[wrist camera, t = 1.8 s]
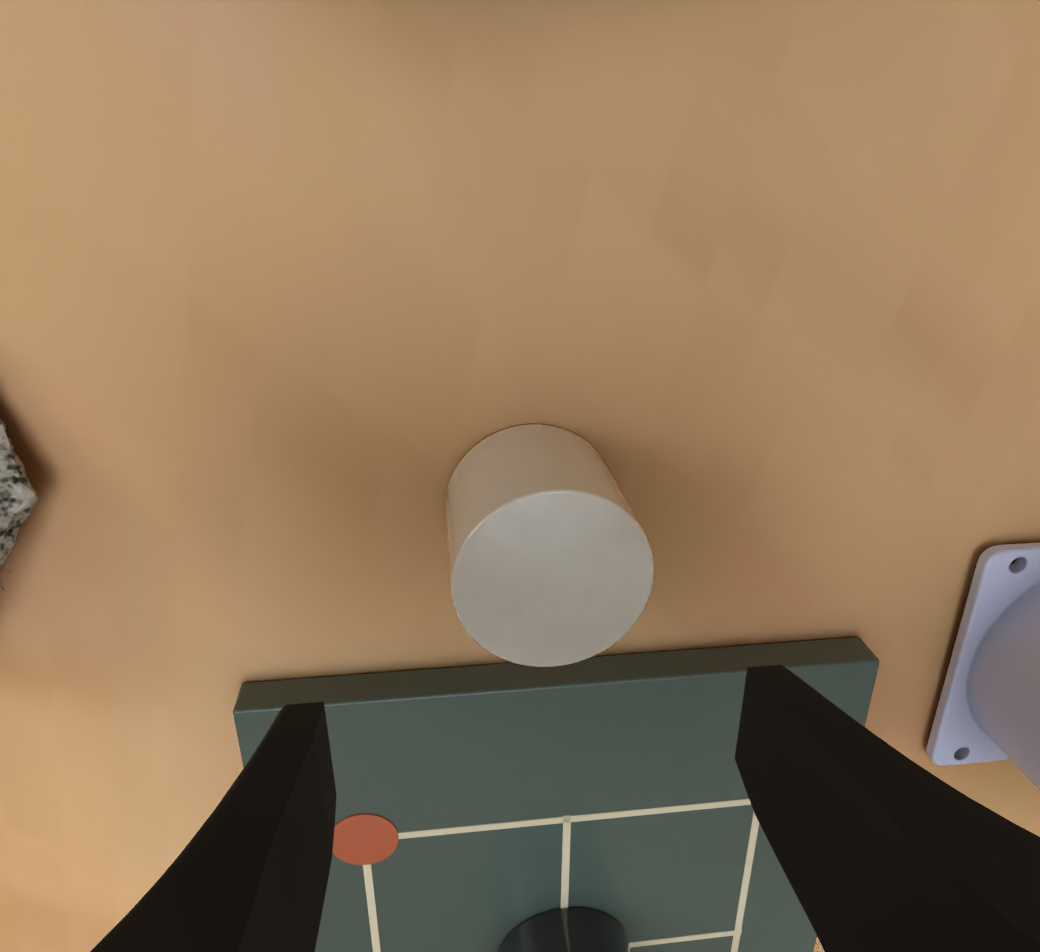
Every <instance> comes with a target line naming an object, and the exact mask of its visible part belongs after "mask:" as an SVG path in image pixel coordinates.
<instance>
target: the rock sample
mask: <svg viewBox="0 0 1040 952" xmlns="http://www.w3.org/2000/svg"><path fill="white" fill-rule="evenodd" d="M6 431H8V429H6V426H5V424H4V422H3V421H2V420H1V418H0V571H1V570H3V567H4V565H5V562H6V559H7V557H8V555H9V554H10V552H11V551H12V550H13V548H14V545H15V541H16V537H17V533H18V530H19V528H20V526H21V524H22V523H23V522H24V521H25V520H26V519H27V517H28V516H29V514H30V513H31V511H32V509H33V508H34V507H35V505H36V503H37V498H38V495H37V493H36V492H35V490H34V489H33V487H32V486H31V483H30V481H29V478H28V476H27V473H26V470H25V467H24V465H23V463H22V462H21V460H20V459H19V457H18V456H17V455H16V453H15V452H14V447H13V445H12V444H11V439H9V438H8V437H7V433H6ZM10 572H11V571H10ZM0 585H2V584H1V583H0ZM2 588H3V590H4V587H2Z"/></svg>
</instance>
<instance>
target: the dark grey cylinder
mask: <svg viewBox="0 0 1040 952" xmlns="http://www.w3.org/2000/svg"><path fill="white" fill-rule="evenodd" d="M499 952H631V949H630V945H629V941H628V937H627V935H626V932H625V930H624V929H623V927H622V926H621V925H620V924H619V923H618V922H617V921H616V920H615V919H613V918H612V917H611V916H609V915H607V914H605V913H602V912H599V911H596V910H592V909H586V908H563V909H557V910H552V911H548V912H545V913H542V914H539V915H537V916H535V917H532V918H530V919H528V920H527V921H525V922H523V923H522V924H520V925H519V926H518V927H516V928H515V929H514V930H513V931H512V932H511V933H510V934H509V935H508V936H507V937H506V939H505V940H504V942H503V943H502V945H501V947H500V949H499Z"/></svg>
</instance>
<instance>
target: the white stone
mask: <svg viewBox="0 0 1040 952" xmlns="http://www.w3.org/2000/svg"><path fill="white" fill-rule="evenodd" d="M445 509H446V524H447V539H448V554H449V569H450V583H451V594H452V601H453V605H454V608H455V612H456V614H457V616H458V618H459V620H460V622H461V624H462V625H463V627H464V628H465V630H466V631H467V633H468V634H469V635H470V636H471V637H472V638H473V639H474V640H475V641H476V642H477V643H478V644H479V645H480V646H482V647H483V648H484V649H486V650H487V651H489V652H490V653H492V654H493V655H495V656H498V657H500V658H502V659H504V660H507V661H510V662H513V663H516V664H521V665H526V666H535V667H554V666H562V665H568V664H572V663H576V662H579V661H582V660H585V659H588V658H590V657H592V656H595V655H597V654H599V653H601V652H602V651H604V650H606V649H607V648H609V647H611V646H612V645H613V644H615V643H616V642H617V641H618V640H620V639H621V638H622V637H623V636H624V635H625V634H626V633H627V632H628V631H629V630H630V629H631V628H632V627H633V625H634V624H635V623H636V622H637V620H638V619H639V617H640V616H641V614H642V612H643V611H644V609H645V607H646V604H647V602H648V600H649V597H650V594H651V590H652V586H653V580H654V560H653V553H652V550H651V547H650V543H649V541H648V539H647V537H646V535H645V533H644V531H643V529H642V527H641V525H640V524H639V522H638V520H637V518H636V517H635V515H634V513H633V511H632V510H631V508H630V506H629V504H628V502H627V501H626V499H625V497H624V495H623V494H622V492H621V490H620V488H619V487H618V485H617V483H616V481H615V480H614V478H613V476H612V474H611V473H610V471H609V469H608V467H607V465H606V464H605V462H604V460H603V459H602V458H601V456H600V455H599V453H598V452H597V451H596V450H595V449H594V448H593V447H592V446H591V445H590V444H589V443H588V442H586V441H585V440H584V439H582V438H581V437H579V436H577V435H576V434H574V433H572V432H569V431H567V430H565V429H562V428H558V427H555V426H549V425H540V424H529V425H519V426H515V427H511V428H507V429H504V430H501V431H499V432H496V433H494V434H492V435H490V436H488V437H487V438H485V439H484V440H482V441H481V442H479V443H478V444H477V445H475V446H474V447H473V448H472V449H471V450H470V451H469V452H468V453H467V454H466V455H465V456H464V457H463V459H462V460H461V461H460V463H459V464H458V466H457V467H456V469H455V471H454V473H453V475H452V477H451V479H450V482H449V485H448V488H447V494H446V507H445Z"/></svg>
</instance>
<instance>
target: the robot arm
mask: <svg viewBox="0 0 1040 952" xmlns="http://www.w3.org/2000/svg"><path fill="white" fill-rule="evenodd" d="M1016 558H1017V559H1016ZM1015 559H1016V560H1015ZM1013 560H1015V562H1014V563H1013V564H1011V562H1012V561H1013ZM1010 564H1011V565H1010ZM926 754H927V755H928V757H929V758H930V759H931V761H932V762H933V763H934V764H936V765H938V766H948V765H959V764H969V763H980V762H990V761H1001V760H1011V761H1012V762H1013V763H1014V764H1015V765H1016V766H1017V767H1018V768H1019V769H1020V770H1021V771H1022V772H1023V773H1024V774H1025V775H1026V776H1027V777H1028V779H1029V780H1030V781H1031V782H1032V783H1033V784H1034V785H1035V786H1036V787H1037V788H1038V789H1039V790H1040V542H1039V543H1023V544H1007V545H996V546H992V547H990V548H988V549H986V550H985V551H984V552H983V553H982V554H981V555H980V557H979V559H978V561H977V565H976V569H975V572H974V576H973V580H972V583H971V587H970V591H969V594H968V598H967V602H966V605H965V609H964V613H963V616H962V620H961V624H960V627H959V631H958V635H957V638H956V642H955V646H954V649H953V653H952V656H951V660H950V664H949V667H948V671H947V675H946V678H945V682H944V686H943V689H942V693H941V697H940V700H939V704H938V708H937V711H936V715H935V719H934V722H933V726H932V730H931V733H930V737H929V741H928V744H927V748H926ZM735 761H736V764H737V766H738V769H739V772H740V775H741V778H742V781H743V784H744V787H745V789H746V792H747V795H748V797H749V800H750V802H751V805H752V808H753V810H754V813H755V815H756V817H757V819H758V821H759V823H760V825H761V827H762V829H763V831H764V833H765V835H766V837H767V839H768V841H769V843H770V845H771V847H772V849H773V851H774V853H775V855H776V857H777V859H778V861H779V863H780V865H781V867H782V869H783V871H784V873H785V874H786V876H787V878H788V880H789V882H790V884H791V886H792V888H793V890H794V892H795V894H796V896H797V898H798V900H799V902H800V903H801V905H802V907H803V909H804V911H805V913H806V915H807V917H808V919H809V921H810V923H811V925H812V927H813V929H814V931H815V933H816V934H817V936H818V938H819V940H820V943H821V945H822V947H823V949H824V951H825V952H1040V837H1039V836H1037V835H1035V834H1033V833H1031V832H1029V831H1027V830H1025V829H1023V828H1022V827H1020V826H1018V825H1016V824H1014V823H1012V822H1010V821H1009V820H1007V819H1005V818H1003V817H1002V816H1000V815H998V814H997V813H995V812H993V811H991V810H990V809H988V808H986V807H984V806H983V805H981V804H979V803H978V802H976V801H974V800H972V799H971V798H969V797H967V796H966V795H964V794H962V793H961V792H959V791H957V790H956V789H954V788H953V787H951V786H949V785H948V784H946V783H945V782H943V781H942V780H940V779H939V778H937V777H936V776H934V775H933V774H931V773H930V772H928V771H926V770H925V769H923V768H922V767H920V766H919V765H917V764H916V763H914V762H913V761H911V760H910V759H908V758H907V757H906V756H904V755H903V754H901V753H900V752H898V751H897V750H896V749H894V748H893V747H891V746H890V745H888V744H887V743H886V742H884V741H883V740H881V739H880V738H879V737H877V736H876V735H875V734H873V733H872V732H871V731H869V730H868V729H866V728H865V727H864V726H862V725H861V724H860V723H858V722H857V721H856V720H854V719H853V718H852V717H850V716H849V715H848V714H846V713H845V712H844V711H842V710H841V709H840V708H838V707H837V706H836V705H835V704H833V703H832V702H831V701H829V700H828V699H827V698H825V697H824V696H823V695H821V694H820V693H819V692H818V691H816V690H815V689H814V688H812V687H811V686H810V685H808V684H807V683H806V682H804V681H803V680H802V679H801V678H799V677H798V676H797V675H795V674H794V673H792V672H791V671H790V670H788V669H787V668H785V667H784V666H783V665H781V664H780V665H768V666H755V667H747V673H746V680H745V688H744V695H743V702H742V709H741V716H740V723H739V730H738V738H737V745H736V752H735ZM336 798H337V795H336V787H335V780H334V772H333V765H332V758H331V750H330V743H329V735H328V728H327V721H326V713H325V706H324V702H312V703H300V704H287V705H285V706H284V707H283V708H282V709H281V710H280V711H279V713H278V715H277V716H276V718H275V720H274V721H273V723H272V725H271V726H270V728H269V730H268V731H267V733H266V735H265V736H264V738H263V740H262V741H261V743H260V744H259V746H258V747H257V749H256V751H255V752H254V754H253V755H252V757H251V758H250V760H249V761H248V763H247V764H246V766H245V767H244V769H243V770H242V772H241V773H240V775H239V776H238V778H237V779H236V780H235V782H234V783H233V785H232V786H231V788H230V789H229V790H228V792H227V793H226V795H225V796H224V798H223V799H222V800H221V802H220V803H219V805H218V806H217V807H216V809H215V810H214V811H213V813H212V814H211V815H210V817H209V818H208V819H207V821H206V822H205V823H204V824H203V826H202V827H201V828H200V830H199V831H198V832H197V833H196V835H195V836H194V837H193V839H192V840H191V841H190V842H189V844H188V845H187V846H186V847H185V849H184V850H183V851H182V853H181V854H180V855H179V856H178V857H177V859H176V860H175V861H174V862H173V863H172V865H171V866H170V867H169V868H168V869H167V871H166V872H165V873H164V874H163V875H162V876H161V878H160V879H159V880H158V881H157V882H156V883H155V884H154V886H153V887H152V888H151V889H150V890H149V891H148V892H147V893H146V894H145V895H144V897H143V898H142V899H141V900H140V901H139V902H138V903H137V904H136V905H135V906H134V908H133V909H132V910H131V911H130V912H129V913H128V914H127V915H126V916H125V917H124V918H123V919H122V920H121V921H120V922H119V923H118V924H117V925H116V926H115V927H114V928H113V929H112V930H111V931H110V932H109V933H108V934H107V935H106V936H105V937H104V938H103V939H102V940H101V941H100V942H99V943H98V944H97V945H96V946H95V948H94V949H93V950H92V951H91V952H315V948H316V943H317V937H318V932H319V927H320V921H321V916H322V910H323V905H324V900H325V894H326V889H327V883H328V878H329V872H330V867H331V861H332V853H333V840H334V827H335V812H336Z"/></svg>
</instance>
